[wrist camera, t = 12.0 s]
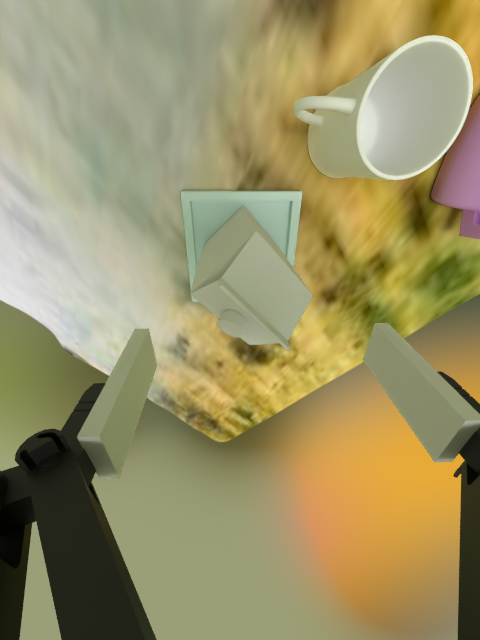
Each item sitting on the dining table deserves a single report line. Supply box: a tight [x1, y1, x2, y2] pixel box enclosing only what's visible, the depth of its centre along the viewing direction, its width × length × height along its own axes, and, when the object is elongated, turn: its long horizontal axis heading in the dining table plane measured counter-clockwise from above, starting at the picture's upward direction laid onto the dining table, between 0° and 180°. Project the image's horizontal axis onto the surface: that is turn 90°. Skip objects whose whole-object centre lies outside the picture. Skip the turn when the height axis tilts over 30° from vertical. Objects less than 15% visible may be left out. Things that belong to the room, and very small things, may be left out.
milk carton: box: [190, 205, 313, 351], centre depth 25 cm, size 7×7×19 cm
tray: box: [180, 190, 302, 302], centre depth 33 cm, size 14×14×2 cm
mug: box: [293, 35, 473, 180], centre depth 23 cm, size 12×8×12 cm
